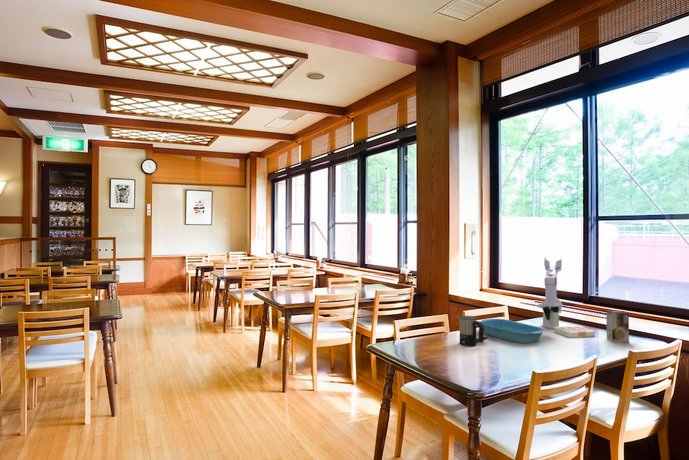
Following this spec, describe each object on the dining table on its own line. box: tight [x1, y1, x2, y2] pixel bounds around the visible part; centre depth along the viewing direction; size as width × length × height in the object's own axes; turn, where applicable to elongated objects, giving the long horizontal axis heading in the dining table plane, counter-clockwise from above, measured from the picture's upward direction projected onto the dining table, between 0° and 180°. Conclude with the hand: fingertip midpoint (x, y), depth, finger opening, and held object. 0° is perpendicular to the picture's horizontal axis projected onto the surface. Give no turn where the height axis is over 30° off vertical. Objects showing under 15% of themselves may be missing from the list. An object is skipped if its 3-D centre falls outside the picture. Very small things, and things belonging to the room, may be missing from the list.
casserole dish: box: [479, 318, 544, 344], centre depth 249 cm, size 37×22×7 cm, turn 33°
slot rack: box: [553, 325, 596, 339], centre depth 255 cm, size 14×16×3 cm
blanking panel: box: [542, 311, 560, 327], centre depth 253 cm, size 10×3×7 cm, turn 9°
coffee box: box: [606, 310, 630, 343], centre depth 240 cm, size 9×6×16 cm
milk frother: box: [458, 315, 489, 347], centre depth 235 cm, size 14×16×15 cm
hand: (550, 319), depth 253 cm, fingers closed on blanking panel, 3 cm apart
